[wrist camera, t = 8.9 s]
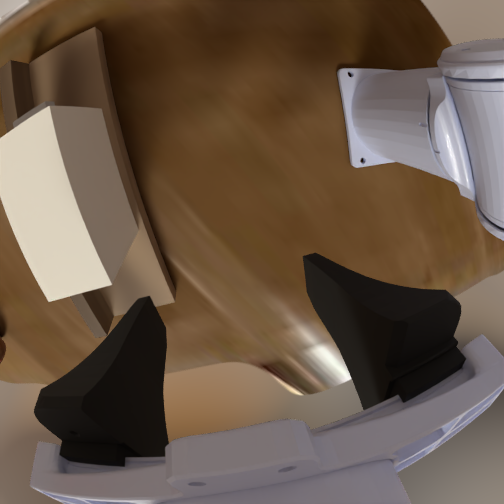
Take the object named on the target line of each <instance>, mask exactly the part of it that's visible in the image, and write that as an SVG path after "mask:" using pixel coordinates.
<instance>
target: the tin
mask: <svg viewBox="0 0 504 504" xmlns="http://www.w3.org/2000/svg"><path fill="white" fill-rule="evenodd" d="M5 352H6V345H5V343H4V341H3V340H2V339H1V337H0V363H1V362H2V360H3V358H4V355H5Z"/></svg>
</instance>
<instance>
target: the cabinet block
mask: <svg viewBox="0 0 504 504" xmlns="http://www.w3.org/2000/svg"><path fill="white" fill-rule="evenodd" d="M13 126H14V129H12V130H11V131H10V132H8V133H7V134H6V135H4V136H3V137H1V138H0V197H1V200H2V203H3V206H4V208H5V211H6V214H7V217H8V219H9V222H10V224H11V227H12V229H13V232H14V234H15V236H16V239H17V241H18V243H19V246H20V248H21V250H22V252H23V254H24V256H25V258H26V260H27V263H28V265H29V267H30V269H31V270H32V272H33V274H34V276H35V278H36V280H37V282H38V284H39V285H40V287H41V289H42V291H43V293H44V294H45V296H46V298H47V299H48V301H49V302H50V301H54V300H58V299H61V298H65V297H69V296H72V295H76V294H80V293H84V292H87V291H91V290H95V289H98V288H102V287H106V286H110V285H112V284H113V282H114V280H115V278H116V275H117V273H118V271H119V269H120V267H121V265H122V263H123V261H124V259H125V257H126V255H127V252H128V250H129V248H130V246H131V245H132V243H133V241H134V239H135V237H136V235H137V233H138V231H139V230H138V227H137V224H136V222H135V219H134V216H133V213H132V210H131V208H130V205H129V202H128V199H127V196H126V193H125V190H124V187H123V184H122V181H121V177H120V174H119V171H118V168H117V164H116V161H115V158H114V154H113V151H112V147H111V144H110V140H109V136H108V132H107V128H106V125H105V120H104V116H103V112H102V109H101V108H89V107H74V106H55V103H54V102H50V101H45V102H43V103H41V104H40V105H38V106H37V107H35V108H33V109H32V110H30V111H29V112H27V113H26V114H24V115H23V116H21V117H20V118H18V119H17V120H16V121H14V122H13Z"/></svg>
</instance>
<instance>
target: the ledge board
mask: <svg viewBox="0 0 504 504" xmlns="http://www.w3.org/2000/svg"><path fill="white" fill-rule="evenodd" d="M0 89H1V98H2V105H3V112H4V118H5V124H6V129H7V133H8V132H10V131H11V130H12V129H14V126H13V122H14V121H16V120H17V119H18V118H20V117H21V116H23V115H24V114H26V113H27V112H29V111H30V110H32V109H33V108H35V107H37V106H38V105H40V104H41V103H43V102H45V101H50V102H54V103H55V106H74V107H89V108H101V109H102V112H103V116H104V120H105V125H106V128H107V132H108V136H109V140H110V144H111V147H112V151H113V154H114V158H115V161H116V164H117V168H118V171H119V174H120V177H121V181H122V184H123V187H124V190H125V193H126V196H127V199H128V202H129V205H130V208H131V210H132V213H133V216H134V219H135V222H136V224H137V227H138V230H139V231H138V233H137V235H136V237H135V239H134V241H133V243H132V245H131V246H130V248H129V250H128V252H127V255H126V257H125V259H124V261H123V263H122V265H121V267H120V269H119V271H118V273H117V275H116V278H115V280H114V282H113V284H112V285H110V286H106V287H102V288H98V289H95V290H91V291H87V292H84V293H80V294H76V295H72V296H70V298H71V299H72V301H73V303H74V304H75V306H76V308H77V309H78V311H79V313H80V314H81V316H82V318H83V319H84V321H85V322H86V324H87V326H88V327H89V329H90V330H91V332H92V333H93V335H94V336H95V338H97V337H103V336H107V335H108V332H109V329H110V326H111V323H112V320H113V317H114V316H116V315H121V314H125V313H127V311H128V310H129V309H130V307H131V306H132V305H133V304H134V303H135V301H136V300H137V299H138V298H142V297H146V296H150V297H151V299H152V301H153V303H154V305H155V307H156V306H160V305H165V304H169V303H173V302H175V297H176V290H175V288H174V285H173V283H172V280H171V278H170V275H169V273H168V270H167V268H166V265H165V263H164V260H163V258H162V255H161V252H160V250H159V247H158V244H157V242H156V239H155V236H154V234H153V231H152V228H151V225H150V222H149V219H148V217H147V214H146V211H145V208H144V205H143V202H142V199H141V196H140V193H139V189H138V186H137V183H136V180H135V177H134V173H133V170H132V167H131V163H130V160H129V156H128V153H127V149H126V145H125V142H124V138H123V134H122V130H121V126H120V123H119V118H118V114H117V110H116V106H115V101H114V97H113V92H112V88H111V83H110V78H109V73H108V67H107V62H106V56H105V50H104V44H103V37H102V32H101V31H100V30H98V29H97V28H96V27H93V28H91V29H89V30H87V31H85V32H83V33H81V34H79V35H77V36H75V37H73V38H71V39H69V40H67V41H65V42H64V43H62V44H60V45H58V46H56V47H55V48H53V49H51V50H50V51H48V52H46V53H45V54H43V55H41V56H40V57H38V58H37V59H35V60H34V61H32V62H31V63H29V64H27V63H22V62H17V61H12V60H10V61H9V62H8V63H6V64H5V65H4V66H3V67H1V68H0Z"/></svg>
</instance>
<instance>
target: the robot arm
mask: <svg viewBox="0 0 504 504" xmlns="http://www.w3.org/2000/svg"><path fill="white" fill-rule="evenodd" d="M437 65H438V67H435V68H422V69H411V70H402V71H398V70H385V69H364V68H343V69H339V70H338V72H337V76H338V81H339V86H340V92H341V98H342V103H343V110H344V116H345V123H346V130H347V137H348V146H349V154H350V162H351V165H352V166H354V167H356V168H359V167H365V166H371V165H377V164H384V163H391V162H400V163H403V164H406V165H409V166H412V167H415V168H418V169H421V170H423V171H426V172H429V173H432V174H434V175H437V176H440V177H442V178H445V179H447V180H450V181H452V182H455V183H456V184H457V186H458V187H459V190H460V193H461V195H462V196H464V197H467V198H469V199H471V200H473V201H475V206H476V213H477V216H478V218H479V220H480V222H481V224H482V225H483V226H484V227H485V228H486V229H487V230H488V231H489V232H490V233H491V234H493V235H494V236H496V237H498V238H500V239H502V240H504V39H485V40H476V41H470V42H465V43H461V44H457V45H453V46H450V47H448V48H446V49H444V50H443V51H442V54H441V56H440V58H439V59H438V61H437ZM348 72H350V73H351V77H349V76H348ZM361 158H363V162H362V163H361V162H360V160H361ZM303 262H304V270H305V279H306V288H307V293H308V296H309V298H310V300H311V302H312V305H313V307H314V309H315V311H316V312H317V314H318V316H319V317H320V319H321V320H322V322H323V324H324V325H325V327H326V328H327V330H328V332H329V333H330V335H331V336H332V338H333V340H334V341H335V343H336V345H337V347H338V348H339V350H340V353H341V355H342V357H343V359H344V361H345V364H346V366H347V368H348V371H349V373H350V375H351V378H352V380H353V383H354V385H355V388H356V390H357V393H358V395H359V398H360V401H361V404H362V407H363V410H364V411H361V412H359V413H356V414H354V415H352V416H349V417H347V418H344V419H341V420H338V421H336V422H333V423H330V424H327V425H324V426H321V427H318V428H315V429H312V430H310V427H309V426H308V425H307V424H306V423H305V422H304V421H301V420H294V419H282V420H276V421H268V422H265V423H260V424H256V425H251V426H247V427H242V428H237V429H232V430H226V431H220V432H214V433H208V434H201V435H194V436H187V437H183V438H178V439H174V440H173V441H172V442H170V443H169V442H168V436H167V429H166V422H165V412H164V399H163V382H164V371H165V360H166V349H167V338H166V327H165V325H164V323H163V321H162V319H161V317H160V315H159V313H158V311H157V309H156V307H155V305H154V303H153V301H152V299H151V297H150V296H146V297H142V298H138V299H137V300H136V301H135V303H134V304H133V305H132V306H131V307H130V309H129V310H128V311H127V313H126V314H125V315H124V316H123V318H122V319H121V320H120V321H119V323H118V324H117V325H116V327H115V328H114V329H113V330H112V331H111V333H110V334H109V335H108V336H107V337H106V339H105V340H104V341H103V342H102V343H101V344H100V345H99V346H98V347H97V348H96V349H95V350H94V351H93V352H92V353H91V354H90V355H89V356H88V357H87V358H86V359H84V360H83V361H82V362H81V363H80V364H79V365H78V366H76V367H75V368H74V369H72V370H71V371H70V372H68V373H67V374H66V375H64V376H63V377H61V378H60V379H58V380H57V381H55V382H53V383H51V384H50V385H48V386H46V387H45V388H43V389H41V391H40V394H39V397H38V400H37V403H36V406H35V409H34V413H35V416H36V418H37V419H38V420H39V422H40V423H41V424H42V425H44V426H45V427H46V428H47V429H48V430H49V431H51V432H52V433H53V434H55V435H56V436H57V437H58V438H60V439H61V440H62V444H61V446H60V445H57V444H54V443H48V442H42V441H39V442H38V445H37V449H36V454H35V458H34V464H33V469H32V474H31V480H30V486H31V487H32V488H34V489H36V490H38V491H40V492H41V493H43V494H45V495H47V496H49V497H51V498H54V499H56V500H58V501H60V502H62V503H64V504H411V502H410V500H409V498H408V496H407V493H406V492H405V489H404V487H403V485H402V483H401V481H400V479H399V476H398V474H397V472H399V471H400V470H402V469H404V468H406V467H407V466H409V465H411V464H412V463H414V462H416V461H417V460H419V459H421V458H422V457H424V456H425V455H427V454H428V453H430V452H431V451H433V450H434V449H436V448H437V447H439V446H440V445H441V444H443V443H444V442H445V441H447V440H448V439H450V438H451V437H452V436H454V435H455V434H456V433H457V432H459V431H460V430H461V429H463V428H464V427H465V426H466V425H468V424H469V423H470V422H472V421H473V420H474V419H475V418H476V417H477V416H479V415H480V414H481V413H482V412H484V411H485V410H486V409H487V408H488V407H489V406H490V405H491V404H492V402H494V400H495V399H496V398H497V397H498V395H499V394H500V393H501V391H502V390H503V389H504V357H503V356H502V355H501V354H500V353H499V351H497V349H496V348H495V347H494V346H493V345H492V344H491V343H490V342H489V340H488V339H487V338H486V337H485V336H484V335H479V336H478V337H477V338H475V339H474V340H473V341H471V342H470V343H468V344H467V345H466V346H465V347H463V349H462V350H461V351H459V349H458V348H457V347H456V346H457V344H458V341H457V340H456V339H455V338H454V333H455V331H456V328H457V325H458V322H459V319H460V316H461V305H460V303H459V302H458V301H457V300H456V299H455V298H454V297H453V296H452V295H451V294H450V293H449V292H447V291H446V290H432V289H418V288H410V287H403V286H398V285H394V284H389V283H385V282H382V281H379V280H375V279H372V278H369V277H366V276H364V275H361V274H359V273H356V272H354V271H352V270H349V269H347V268H345V267H343V266H341V265H339V264H337V263H335V262H333V261H331V260H329V259H327V258H325V257H323V256H321V255H319V254H317V253H313V254H309V255H305V256H303Z"/></svg>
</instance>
